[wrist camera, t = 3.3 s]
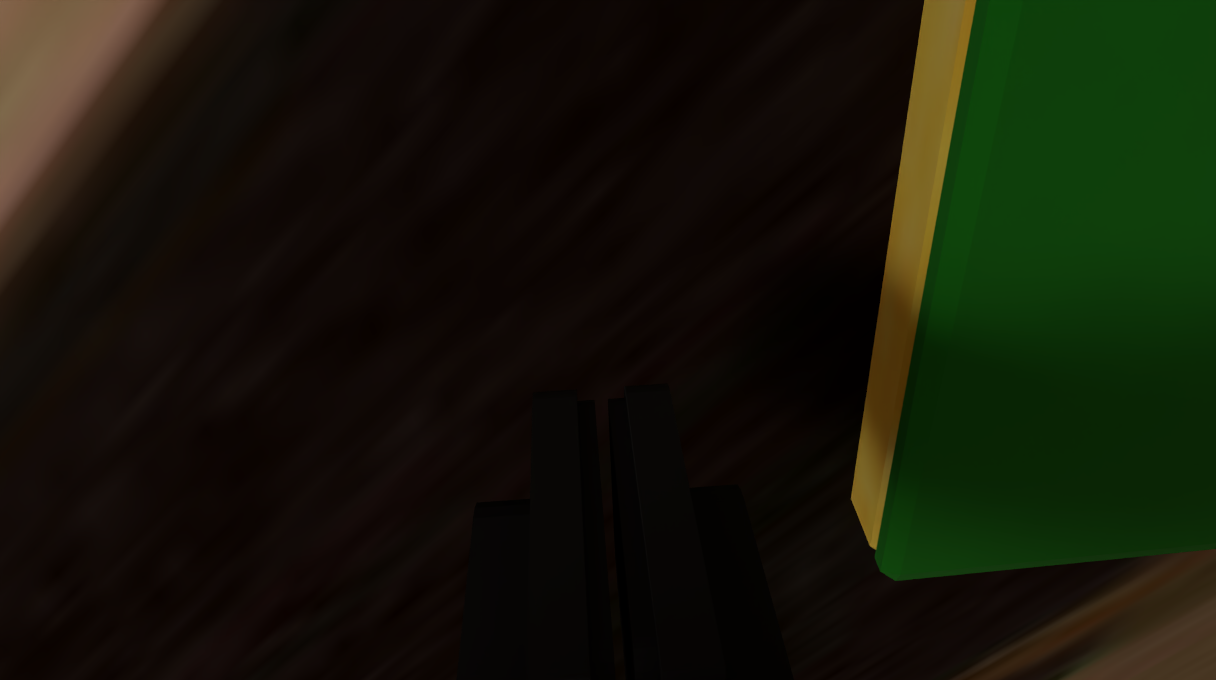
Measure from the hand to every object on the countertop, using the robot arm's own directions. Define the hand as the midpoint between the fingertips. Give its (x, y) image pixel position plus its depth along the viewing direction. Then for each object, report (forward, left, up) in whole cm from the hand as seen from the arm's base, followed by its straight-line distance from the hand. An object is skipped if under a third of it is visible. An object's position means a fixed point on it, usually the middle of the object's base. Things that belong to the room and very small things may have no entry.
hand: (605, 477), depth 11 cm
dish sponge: (-1, +9, -5) cm, 10 cm away
